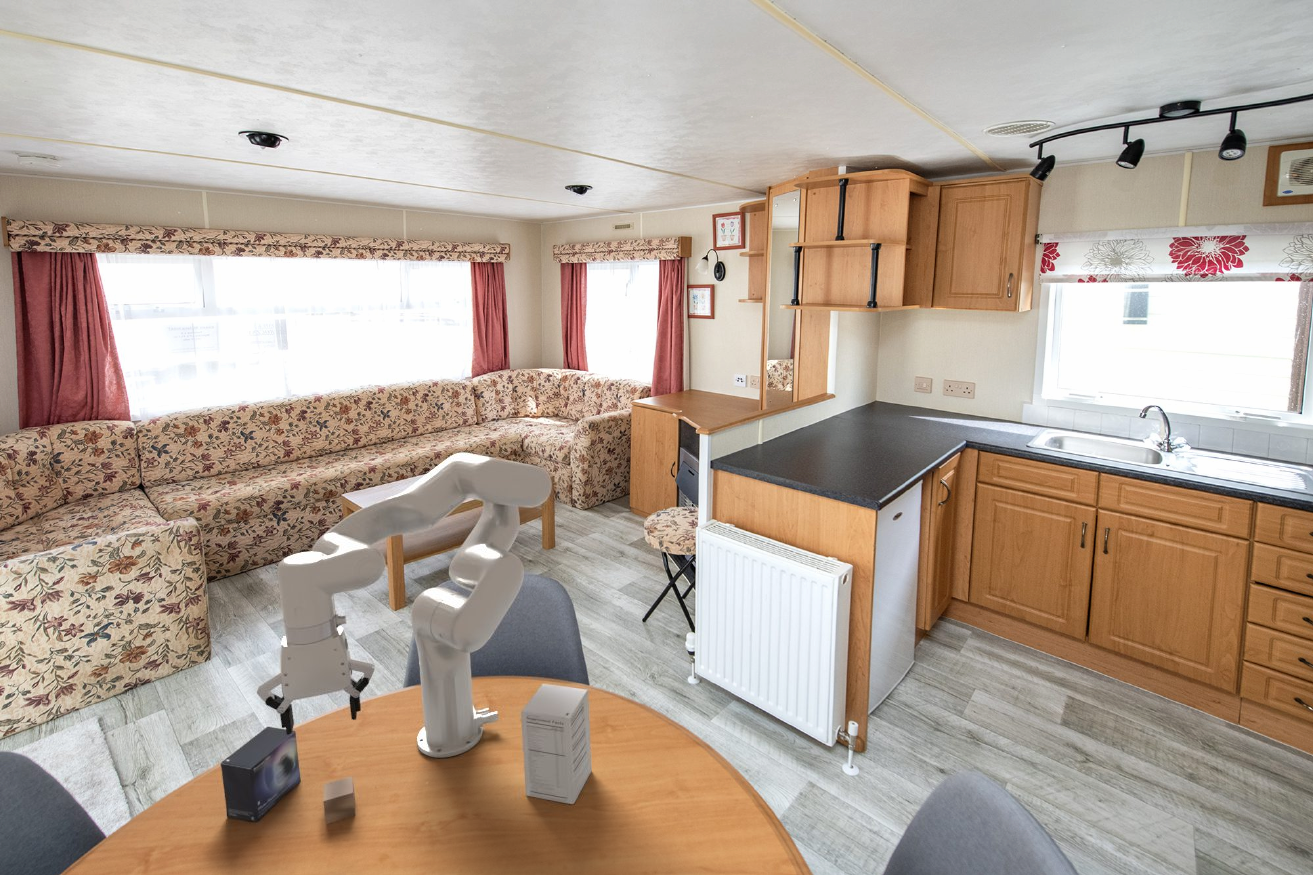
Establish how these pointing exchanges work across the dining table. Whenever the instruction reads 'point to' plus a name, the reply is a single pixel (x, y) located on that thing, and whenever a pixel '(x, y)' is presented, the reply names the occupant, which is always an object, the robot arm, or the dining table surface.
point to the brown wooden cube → (339, 800)
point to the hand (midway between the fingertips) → (323, 722)
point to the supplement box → (556, 743)
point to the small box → (260, 774)
